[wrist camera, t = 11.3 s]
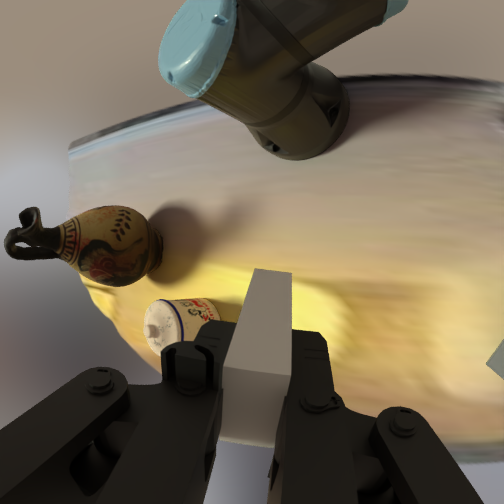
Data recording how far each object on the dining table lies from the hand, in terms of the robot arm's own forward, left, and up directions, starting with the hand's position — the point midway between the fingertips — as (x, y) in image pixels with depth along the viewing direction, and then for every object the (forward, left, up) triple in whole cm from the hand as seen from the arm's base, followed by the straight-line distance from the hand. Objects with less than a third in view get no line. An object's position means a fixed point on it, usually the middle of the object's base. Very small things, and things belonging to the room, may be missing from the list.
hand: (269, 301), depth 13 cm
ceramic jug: (-21, -42, -26) cm, 54 cm away
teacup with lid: (-4, -32, -26) cm, 42 cm away
